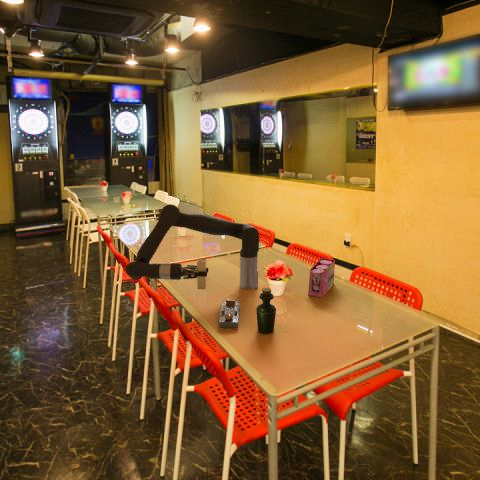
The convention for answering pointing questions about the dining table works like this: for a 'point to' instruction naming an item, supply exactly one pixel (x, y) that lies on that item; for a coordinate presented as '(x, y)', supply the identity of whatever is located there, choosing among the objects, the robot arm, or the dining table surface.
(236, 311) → the hand plane
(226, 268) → the dining table surface
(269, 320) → the potion bottle
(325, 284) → the gum box
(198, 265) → the wood grain block
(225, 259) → the dining table surface
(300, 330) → the dining table surface
